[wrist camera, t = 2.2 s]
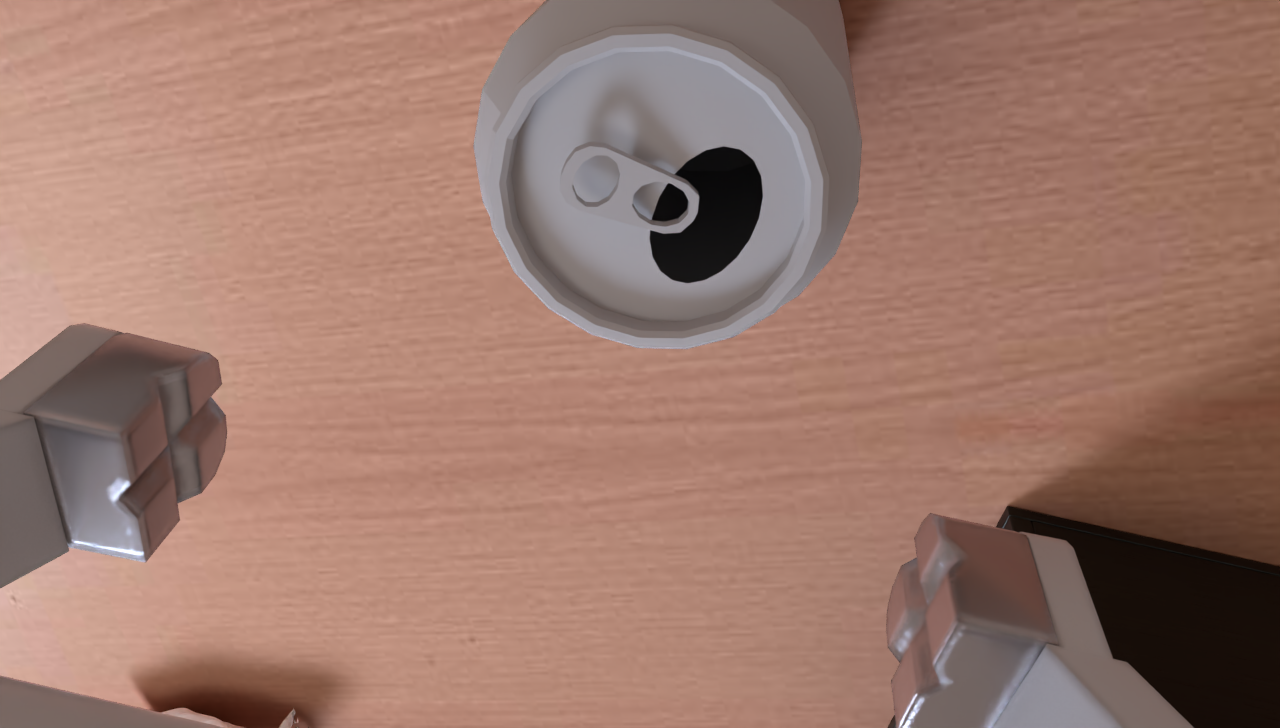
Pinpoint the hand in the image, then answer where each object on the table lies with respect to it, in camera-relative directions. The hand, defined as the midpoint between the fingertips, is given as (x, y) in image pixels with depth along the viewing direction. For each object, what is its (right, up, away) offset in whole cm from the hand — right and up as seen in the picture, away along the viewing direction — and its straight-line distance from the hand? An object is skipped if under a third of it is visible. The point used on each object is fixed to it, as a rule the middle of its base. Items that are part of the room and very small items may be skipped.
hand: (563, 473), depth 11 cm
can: (+3, +11, +16) cm, 19 cm away
